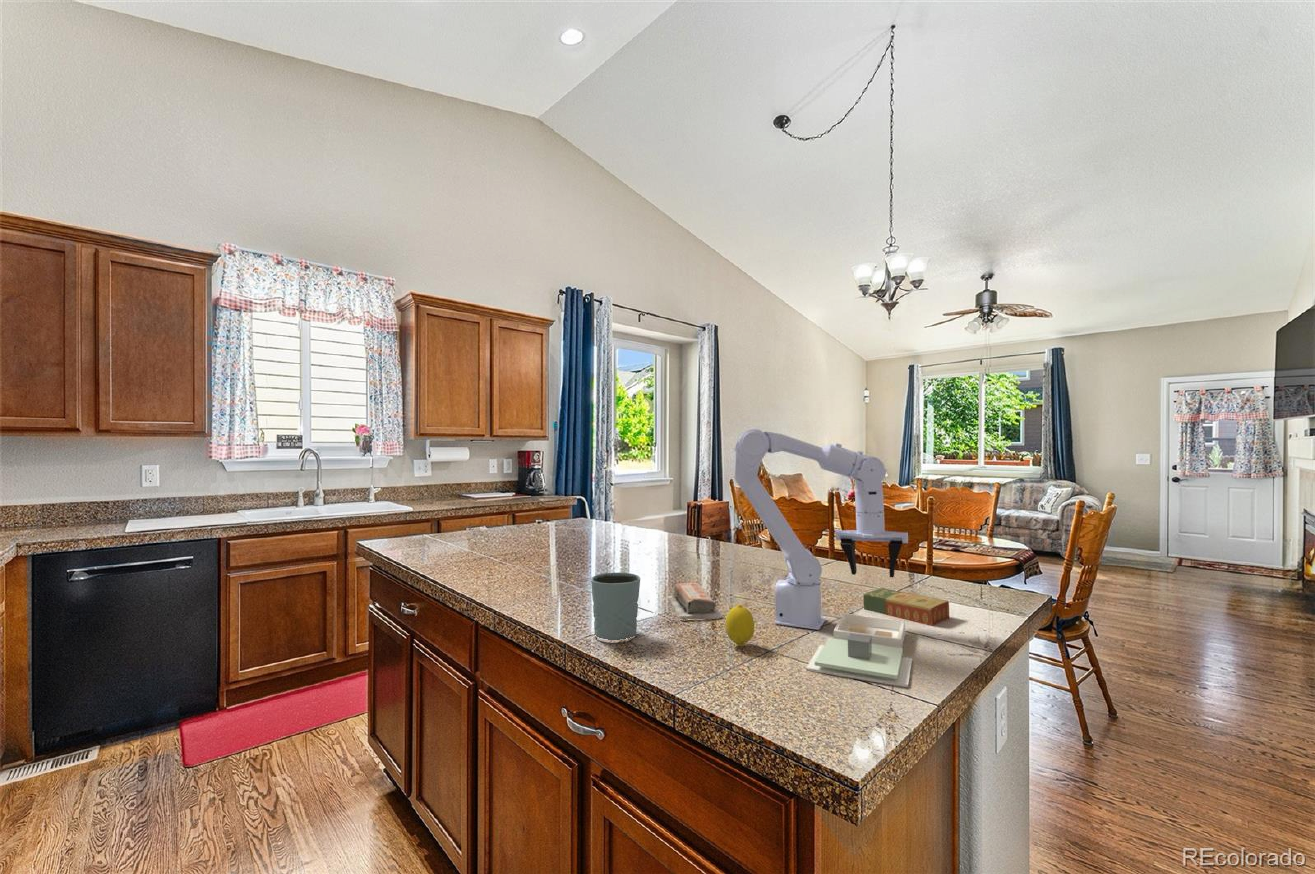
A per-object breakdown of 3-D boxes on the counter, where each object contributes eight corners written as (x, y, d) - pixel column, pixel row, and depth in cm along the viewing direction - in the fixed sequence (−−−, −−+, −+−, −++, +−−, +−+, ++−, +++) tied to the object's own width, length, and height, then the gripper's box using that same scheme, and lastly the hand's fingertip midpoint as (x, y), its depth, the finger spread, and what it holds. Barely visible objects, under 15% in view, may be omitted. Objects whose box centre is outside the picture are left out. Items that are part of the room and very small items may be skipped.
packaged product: (666, 581, 140) (704, 579, 142) (666, 600, 140) (705, 598, 142) (679, 601, 123) (723, 599, 124) (679, 623, 122) (723, 620, 124)
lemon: (756, 642, 109) (755, 601, 109) (752, 652, 104) (751, 609, 104) (729, 639, 111) (728, 599, 111) (723, 649, 105) (722, 607, 105)
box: (833, 643, 108) (833, 630, 108) (843, 624, 118) (843, 613, 118) (901, 653, 102) (900, 639, 102) (905, 632, 113) (905, 620, 113)
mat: (806, 669, 95) (806, 667, 95) (820, 646, 106) (820, 644, 106) (907, 687, 88) (907, 684, 88) (912, 660, 98) (912, 658, 98)
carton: (931, 628, 117) (930, 607, 117) (862, 610, 129) (862, 592, 129) (950, 619, 122) (949, 600, 122) (881, 603, 134) (881, 586, 134)
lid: (814, 669, 94) (814, 644, 94) (829, 644, 106) (828, 621, 106) (897, 683, 88) (896, 656, 88) (903, 655, 100) (902, 631, 100)
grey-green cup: (581, 636, 114) (580, 578, 114) (617, 624, 121) (616, 569, 121) (615, 648, 107) (614, 586, 107) (651, 634, 114) (650, 576, 115)
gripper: (831, 513, 119) (834, 576, 119) (904, 514, 112) (908, 581, 112) (837, 509, 125) (840, 569, 125) (907, 510, 118) (910, 574, 118)
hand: (872, 574), depth 119 cm, fingers open, 7 cm apart
